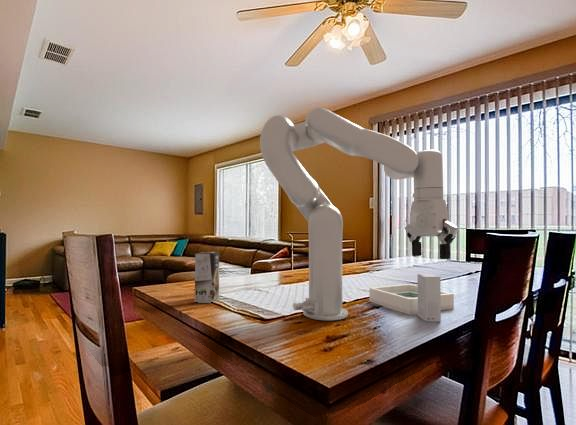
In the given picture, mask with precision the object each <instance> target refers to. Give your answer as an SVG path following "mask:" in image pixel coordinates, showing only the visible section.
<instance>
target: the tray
mask: <svg viewBox="0 0 576 425" xmlns="http://www.w3.org/2000/svg"><path fill="white" fill-rule="evenodd" d="M440 291H441V311H445V310H453V309H454V308H455V306H454V305H455V302H454V298H455V297H454V295H455V294H454V293H452V292H447V291H443V290H440ZM368 292H369V296H368V297H369V300H368V301H369V302H370V303H373V304H376V305H379V306H381V307H385V308H387V309H391V310H394V311H397V312H399V313H403V314H406V315H409V316H414V315H418V284H417V285H416V284H412V283H407V284H396V285H395V284H394V285H386V286H376V287H375V286H374V287H369V290H368Z"/></svg>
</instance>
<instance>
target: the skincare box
mask: <svg viewBox="0 0 576 425" xmlns="http://www.w3.org/2000/svg"><path fill="white" fill-rule="evenodd" d="M417 286H418V314H417V316H418V317H419V318H421V319H422V320H423V321H424V322H427V323H432V322H433V323H438V322H439V323H440V322H441V321H442V320H441V319H442V317H441V316H442V315H441V313H442V310H441V291H442V290H441V276H438V275H435V274H432V273H417Z"/></svg>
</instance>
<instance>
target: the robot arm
mask: <svg viewBox="0 0 576 425" xmlns="http://www.w3.org/2000/svg"><path fill="white" fill-rule="evenodd" d="M324 143H325V144H328V145H329V146H331V147H333V148H334V149H336V150H338V151H340V152H342V153H343V154H346V155H348V156H352V157H363V158H366V159H370V160H372V161H374V162H376V163H379V164H380V165H382V166H383V170H384V173H385V175H386V176H387V177H388V178H390V179H392V180H397V181H398V180H405V179H411V178H413V193H412V198H414V199H413V201H411V205H410V206H411V207H410V212H409V214H410V215H409V224H408V225H406V226H404V230H405V233H406V236H407V238H408V240H409V242H410V243H411V256H412V257H421V256H422V241H421V239H422V238H423V237H429V238H430V237H431V238H432V237H437V239H438V240H439V242H440V244H439V259H440V260H450V259H451V244H452V243H453V241H454V240H455V238H456V237H457V236H456V235H457V234H458V231H459V227H458V226H456V225H455V224H453V223H452V222H450V220H449V212H448V206H447V203H446V199H444V174H443V173H444V171H443V170H444V169H443V155H442V152H441V151H439V150H436V149H426V150H420V151H417V152H416V151H415V149H413V148H412V147H410V146H409V145H408V144H405V143H403V142H402V141H400V140H397V138H394V137H392V136H389V135H387V134H385V133H381V132H378V131H375V130H372V129H368V128H364V127H362V126H360V125H358V124H356V123H354V122H352V121H350V120H349V119H347V118H344V117H342V116H341V115H339V114H337V113H335V112H333V111H331V110H329V109H327V108H325V107H320V106H319V107H313V108H312V109H311V110H310V111H309V112H308V114H306V117H305V121H302V122H298V123H295V124H294V123H293V122H292V121H291V120H290V118H288V117H287V116H284V115H280V114H276V115H273V116H271V117H269V118H268V119H267V120H266V121H265V123H264V124H263V127H262V129H261V131H260V138H259V147H260V153H261V156H262V159H263V161H264V163H265V165H266V167H267V168H268V169H269V171H270V173H271V175H273V177H274V178H275V180H276V181H277V183H278V184H279V185H280V187H281V188H282V189H283V191H284V192H285V194H286V195H287V197H288V198H289V201H290V202H291V203H292V204H293V205H294V206H295V207H296V208H297V209H298V211H299V212H300V213H301V215H302V216H303V217H304V219H305V220H306V221H307V222H308V224H307V225H308V226H307V229H308V297H307V298H305V300H304V301H303V302H296V303H295V302H294V303H293V305H292V308H293V311H302V312H303V315H304V316H305V317H306V318H308V319H312V320H316V321H317V320H318V321H339V320H343V319H346V318H347V317H348V315H349V312H348V310H347V309H345V308H344V307H343V232H344V231H343V229H344V220H343V216H342V213H341V211H340V210H339V209H338V208H337V207H336V206H334V205H333V204H332V202H331V201H330V199H329V198H328V196H326V194H325V193H324V192H323V190H322V188H320V186H319V184H318V183H317V181H316V179H314V178H313V177H312V176H311V175H310V174H309V172H308V171H307V170H306V168H305V167H304V166H303V165H302V163H301V162H300V160H299V159H298V158H297V157H296V155H295V153H293V152H295V151H296V152H297V151H301V150H303V149H308V148H312V147H315V146H318V145H322V144H324Z"/></svg>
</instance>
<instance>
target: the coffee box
mask: <svg viewBox="0 0 576 425" xmlns="http://www.w3.org/2000/svg"><path fill="white" fill-rule="evenodd" d="M194 254H195V255H194V256H195V259H194V265H195V266H194V270H195V271H194V301H193V303H195V302H198V303H197V304H202V303H203V304H212V303H211V302H213V303H215V301H216V300H217V299H218V298H220V251H200V252H198V253H194ZM217 297H218V298H217ZM216 298H217V299H216ZM215 299H216V300H215ZM214 300H215V301H214Z"/></svg>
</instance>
